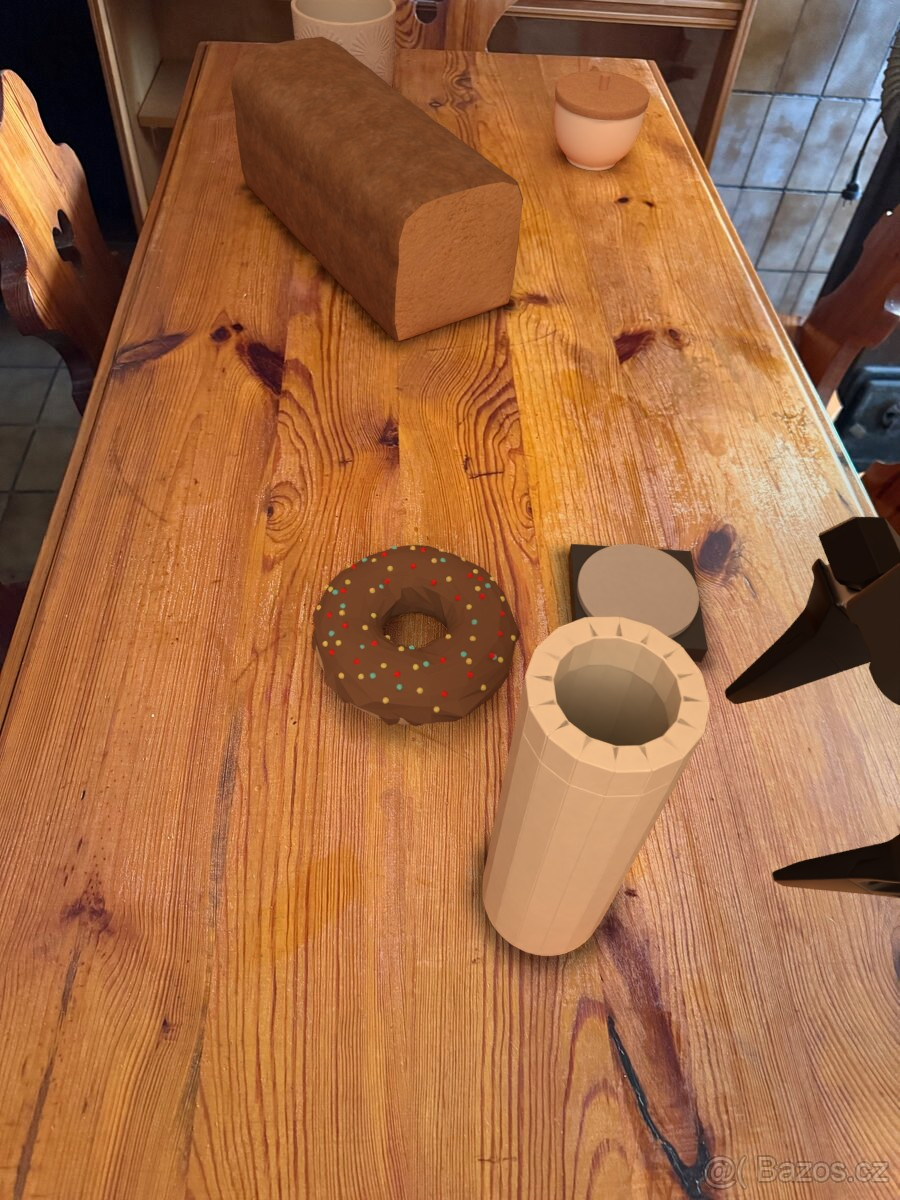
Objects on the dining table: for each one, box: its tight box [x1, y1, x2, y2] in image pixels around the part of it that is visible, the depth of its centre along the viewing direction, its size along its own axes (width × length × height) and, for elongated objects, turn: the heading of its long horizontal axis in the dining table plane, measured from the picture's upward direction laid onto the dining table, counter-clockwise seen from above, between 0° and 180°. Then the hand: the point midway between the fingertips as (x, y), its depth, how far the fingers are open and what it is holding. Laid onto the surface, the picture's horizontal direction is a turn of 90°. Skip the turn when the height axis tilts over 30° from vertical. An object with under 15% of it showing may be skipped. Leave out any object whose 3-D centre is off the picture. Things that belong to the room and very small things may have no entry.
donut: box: [311, 542, 522, 727], centre depth 59 cm, size 14×14×5 cm
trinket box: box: [553, 70, 651, 172], centre depth 103 cm, size 11×11×9 cm
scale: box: [567, 543, 709, 663], centre depth 64 cm, size 9×9×2 cm
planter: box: [290, 0, 397, 88], centre depth 109 cm, size 12×12×11 cm
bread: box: [230, 37, 524, 342], centre depth 87 cm, size 14×34×14 cm, turn 33°
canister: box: [482, 617, 711, 957], centre depth 43 cm, size 7×7×22 cm
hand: (751, 782), depth 41 cm, fingers open, 9 cm apart
